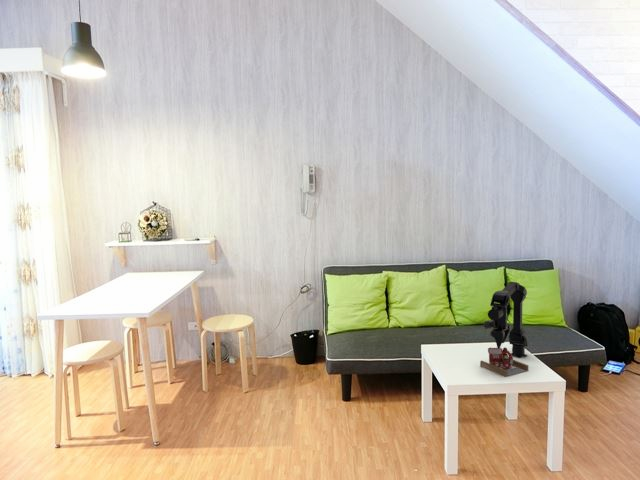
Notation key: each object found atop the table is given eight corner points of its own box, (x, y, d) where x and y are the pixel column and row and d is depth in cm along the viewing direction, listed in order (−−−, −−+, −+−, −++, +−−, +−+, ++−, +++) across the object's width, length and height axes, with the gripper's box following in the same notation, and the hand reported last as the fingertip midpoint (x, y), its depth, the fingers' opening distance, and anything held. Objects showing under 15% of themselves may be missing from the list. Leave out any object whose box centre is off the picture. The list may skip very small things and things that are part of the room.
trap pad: (516, 367, 238) (516, 367, 237) (526, 371, 232) (526, 370, 232) (498, 372, 232) (498, 371, 232) (507, 376, 226) (507, 375, 226)
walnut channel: (502, 360, 248) (502, 355, 248) (528, 370, 233) (528, 365, 233) (480, 366, 241) (480, 360, 241) (505, 377, 226) (505, 371, 225)
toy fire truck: (514, 369, 234) (514, 349, 234) (489, 369, 236) (489, 349, 236) (511, 364, 241) (511, 345, 240) (487, 364, 243) (486, 345, 243)
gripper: (489, 310, 245) (489, 338, 246) (480, 318, 230) (480, 348, 231) (511, 312, 239) (510, 341, 240) (503, 321, 223) (502, 351, 225)
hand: (500, 345), depth 234 cm, fingers open, 9 cm apart
